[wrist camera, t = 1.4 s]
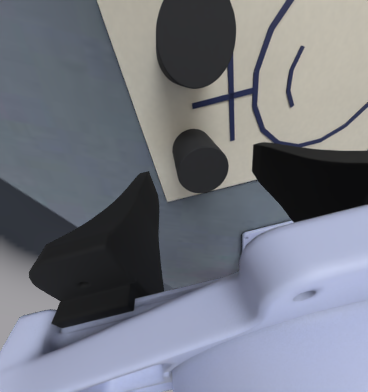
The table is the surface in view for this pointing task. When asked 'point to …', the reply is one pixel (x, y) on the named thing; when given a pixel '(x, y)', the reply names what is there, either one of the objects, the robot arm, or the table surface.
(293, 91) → the drawing card
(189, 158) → the black cylinder
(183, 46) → the black cylinder
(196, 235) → the table surface
